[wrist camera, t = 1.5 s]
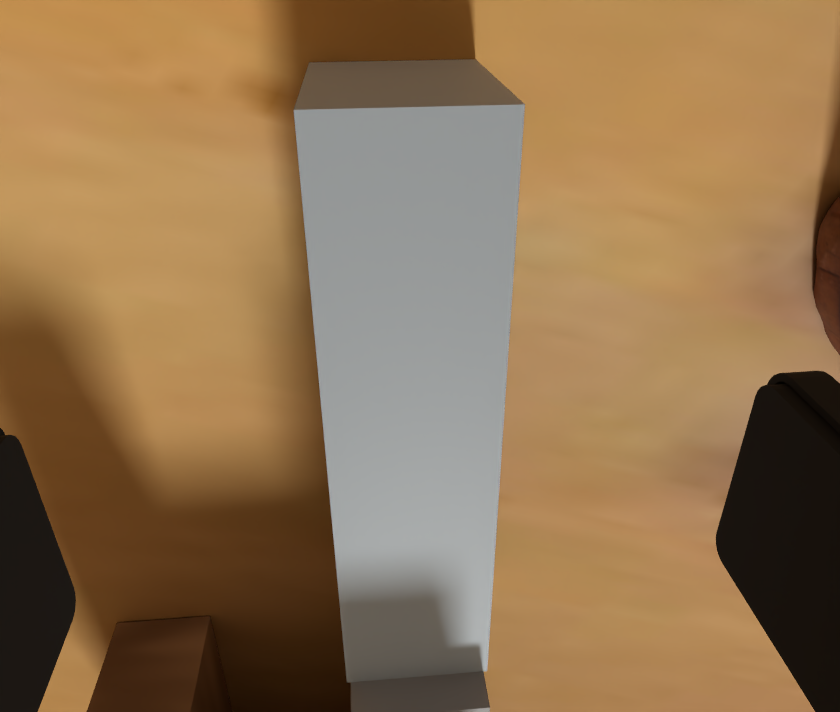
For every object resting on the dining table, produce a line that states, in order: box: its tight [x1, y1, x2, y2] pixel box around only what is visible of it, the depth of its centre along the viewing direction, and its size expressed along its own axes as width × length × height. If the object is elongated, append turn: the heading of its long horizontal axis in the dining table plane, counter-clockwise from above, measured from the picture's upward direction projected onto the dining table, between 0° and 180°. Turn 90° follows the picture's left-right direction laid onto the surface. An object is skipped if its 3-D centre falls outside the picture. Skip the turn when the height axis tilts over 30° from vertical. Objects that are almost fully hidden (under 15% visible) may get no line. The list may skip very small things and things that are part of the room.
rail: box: [294, 59, 525, 712], centre depth 16 cm, size 4×15×6 cm, turn 0°
